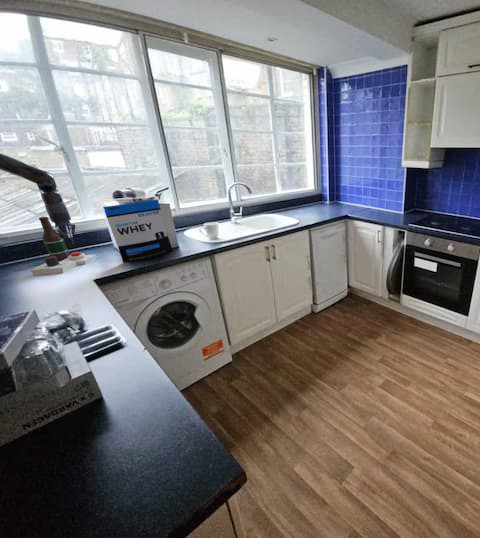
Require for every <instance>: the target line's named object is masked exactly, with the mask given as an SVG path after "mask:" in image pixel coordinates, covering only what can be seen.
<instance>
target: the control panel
mask: <svg viewBox="0 0 480 538" xmlns="http://www.w3.org/2000/svg"><path fill="white" fill-rule="evenodd" d="M58 262H59V265H56V266H51V267H48V266H47V264H46V262H45V263H43V264H40V265H38V266H37V267H34V268H33V269H30V272H31V274H32V276H44V275H53V274H54V275H55V274H64V273H66V272H69V271H70V270H72V269H73V268H75V267H77V266H78V265H77V264H76V262H75V260H74V261H63V262H61V261H58Z"/></svg>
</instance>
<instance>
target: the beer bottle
mask: <svg viewBox="0 0 480 538" xmlns="http://www.w3.org/2000/svg"><path fill="white" fill-rule="evenodd" d="M38 220H39V222H40V224H41V227H42V229H43V234H42V241H43V244H44V246H45V248H46V250H47V253H48V255H49V257H51V256H56V257H57V260H58V262H61V261H63V260H65V259H67V258H68V256H70V255H71V253H70V252H69V249H68V247H67V245H66V243H65V240H64V238H61V237H60V236H58V235H57V234H56V233H54V232H53V230H55V228H54V227H53V225H52V222H51V221H50V217H49V216H40V217H38Z"/></svg>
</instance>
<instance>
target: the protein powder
mask: <svg viewBox="0 0 480 538" xmlns="http://www.w3.org/2000/svg"><path fill="white" fill-rule="evenodd" d="M102 208H103V209H104V213H105V216H106V220H107V222H108V226H109V228H110V230H111V233H112V234H113V237H114V240H115V243H116V245H117V248H118V251H119V254H120V257H121V260H122V263H123V264H126V263H136V262H140V261H147V260H152V259H155V258H159V257H161V256H164V255H167V254H168V253H171V252H173V247H172V244H171V241H170V238H169V234H168V231H167V227H166V224H165V223H166V222H165V219H164V216H163V213H162V209H161V206H160V202H159V199H154V200H153V199H152V200H147V201H146V200H145V201H138V202H131V203H124V204H122V203H121V204H116V205H108V206H107V205H106V206H102Z"/></svg>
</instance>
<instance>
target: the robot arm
mask: <svg viewBox="0 0 480 538" xmlns="http://www.w3.org/2000/svg"><path fill="white" fill-rule="evenodd" d="M0 171H3V172H6V173H8V174H10V175H12V176H13V175H14V176H17V177H20V178H23V179H25V180H27V181H29V182H32V183H34V184H36V186H37V188H38V190H39V192H40V196H41V199H42V202H43V205H44V209H45V210H46V213H47V215H48V218H49V221H50V223H54V226H55V229H54V230H53V232H54V233H56V234H57V235H58V236H60V237H61V238H63V239H65V241H66V244H67V245H70V246H72V245H74V244H75V241H74V238H73V237H74V236H75V234H76V233H75V232H76V224H75V223H73V224H72V223H71V220H72V217H71V214H70V213H69V210H68V208H67V206H66V204H65V202H64V199H63V197H62V195H61V193H60V192H59V189H58V185H57V182H56V180H55V177H54V175H53V174H52V173H50V172H49V171H47V170H42V169H40V168H37V167H35V166H31V165H30V164H27V163H26V162H23V161H21V160H19V159H17V158H14V157H11V156H9V155H6V154H4V153H0Z"/></svg>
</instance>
